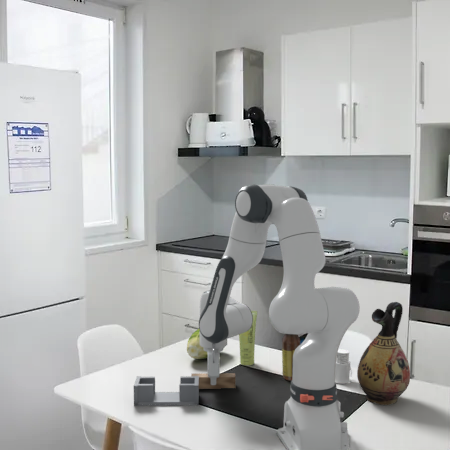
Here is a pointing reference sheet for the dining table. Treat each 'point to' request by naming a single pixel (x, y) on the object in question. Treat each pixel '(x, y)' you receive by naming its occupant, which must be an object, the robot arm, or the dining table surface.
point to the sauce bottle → (289, 354)
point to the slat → (221, 382)
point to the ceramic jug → (384, 360)
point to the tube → (248, 343)
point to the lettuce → (196, 346)
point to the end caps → (148, 396)
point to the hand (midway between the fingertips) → (213, 381)
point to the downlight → (342, 367)
